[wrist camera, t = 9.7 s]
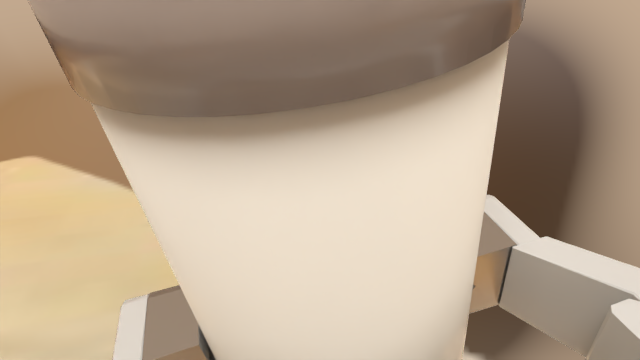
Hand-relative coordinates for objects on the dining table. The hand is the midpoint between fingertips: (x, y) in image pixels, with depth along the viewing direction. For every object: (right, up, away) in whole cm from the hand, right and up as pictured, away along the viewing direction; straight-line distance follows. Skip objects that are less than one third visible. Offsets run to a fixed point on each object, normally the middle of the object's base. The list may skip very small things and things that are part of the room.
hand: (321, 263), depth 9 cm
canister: (+1, -6, +3) cm, 7 cm away
